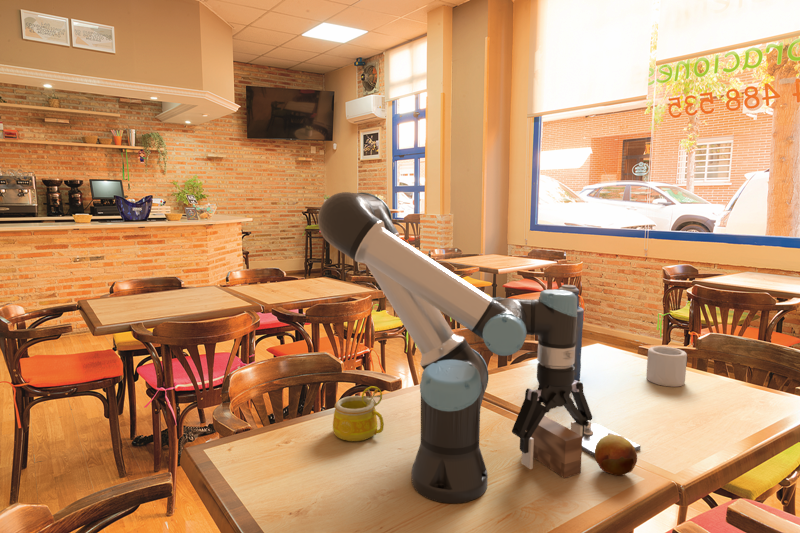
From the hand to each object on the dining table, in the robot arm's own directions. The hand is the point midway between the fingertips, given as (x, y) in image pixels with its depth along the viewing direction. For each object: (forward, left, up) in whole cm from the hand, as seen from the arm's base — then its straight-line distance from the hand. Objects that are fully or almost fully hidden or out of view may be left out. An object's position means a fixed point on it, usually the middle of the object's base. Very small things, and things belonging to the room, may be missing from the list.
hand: (551, 458), depth 107 cm
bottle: (+41, +39, -1) cm, 57 cm away
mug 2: (+68, +24, -1) cm, 72 cm away
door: (0, 0, -1) cm, 1 cm away
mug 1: (-33, +30, -1) cm, 45 cm away
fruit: (+8, -9, -1) cm, 12 cm away
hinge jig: (+16, +2, -1) cm, 16 cm away
